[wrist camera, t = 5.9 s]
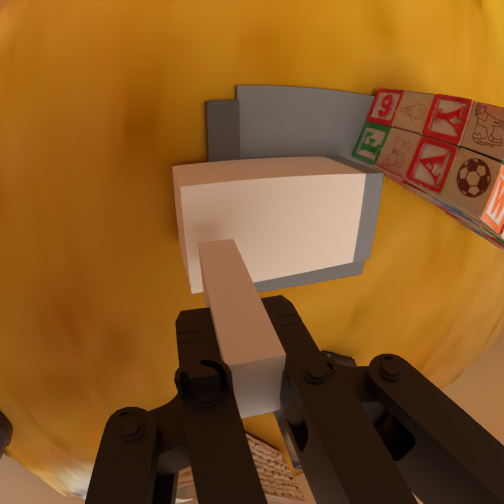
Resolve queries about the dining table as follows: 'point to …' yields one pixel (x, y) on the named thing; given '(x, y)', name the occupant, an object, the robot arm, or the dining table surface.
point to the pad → (288, 140)
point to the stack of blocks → (441, 154)
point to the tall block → (278, 212)
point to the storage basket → (270, 473)
